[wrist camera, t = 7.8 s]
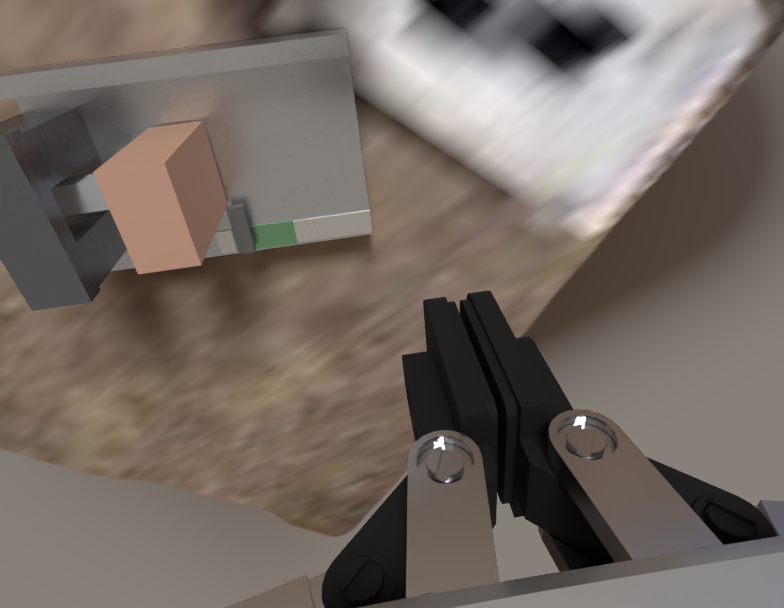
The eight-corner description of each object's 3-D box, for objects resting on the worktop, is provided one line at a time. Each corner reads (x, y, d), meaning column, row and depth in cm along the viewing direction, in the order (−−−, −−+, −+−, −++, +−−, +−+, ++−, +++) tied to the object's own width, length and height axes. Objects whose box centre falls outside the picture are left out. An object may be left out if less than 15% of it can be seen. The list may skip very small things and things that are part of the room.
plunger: (220, 118, 28) (187, 159, 21) (256, 246, 32) (239, 314, 25) (-54, 154, 27) (-178, 208, 20) (22, 280, 31) (-59, 359, 25)
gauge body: (344, 27, 28) (352, 42, 20) (369, 219, 35) (383, 288, 27) (25, 67, 27) (-98, 99, 19) (113, 256, 34) (49, 338, 26)
